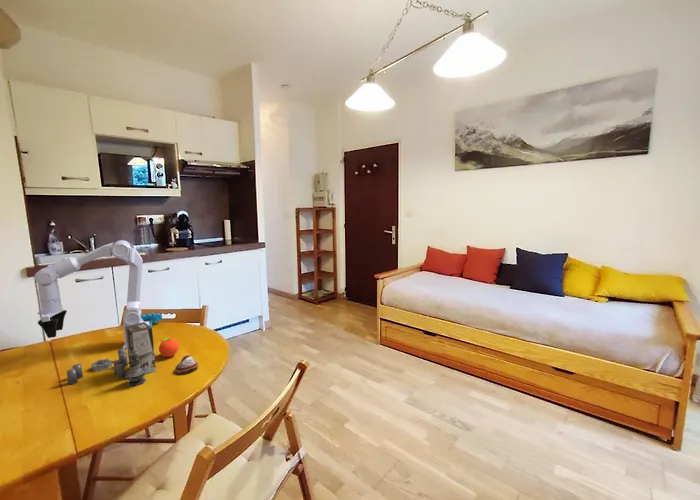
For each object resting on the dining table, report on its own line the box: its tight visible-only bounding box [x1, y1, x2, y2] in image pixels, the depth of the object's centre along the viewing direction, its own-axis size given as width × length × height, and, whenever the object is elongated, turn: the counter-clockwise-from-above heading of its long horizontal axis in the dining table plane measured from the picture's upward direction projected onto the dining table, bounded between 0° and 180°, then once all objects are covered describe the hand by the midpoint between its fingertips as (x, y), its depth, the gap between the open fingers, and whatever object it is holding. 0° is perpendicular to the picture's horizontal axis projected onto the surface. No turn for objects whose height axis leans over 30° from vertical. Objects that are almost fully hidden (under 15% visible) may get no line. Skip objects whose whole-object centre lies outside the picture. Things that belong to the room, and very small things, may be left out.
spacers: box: [66, 347, 129, 386], centre depth 116 cm, size 16×17×4 cm
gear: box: [141, 312, 163, 329], centre depth 157 cm, size 11×6×10 cm
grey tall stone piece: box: [125, 349, 147, 388], centre depth 109 cm, size 6×6×12 cm
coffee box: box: [125, 322, 157, 375], centre depth 117 cm, size 9×6×16 cm
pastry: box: [174, 354, 199, 375], centre depth 118 cm, size 8×8×5 cm
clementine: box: [158, 337, 180, 358], centre depth 128 cm, size 8×7×7 cm
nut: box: [90, 358, 113, 373], centre depth 119 cm, size 6×5×2 cm
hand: (55, 333), depth 125 cm, fingers open, 7 cm apart
